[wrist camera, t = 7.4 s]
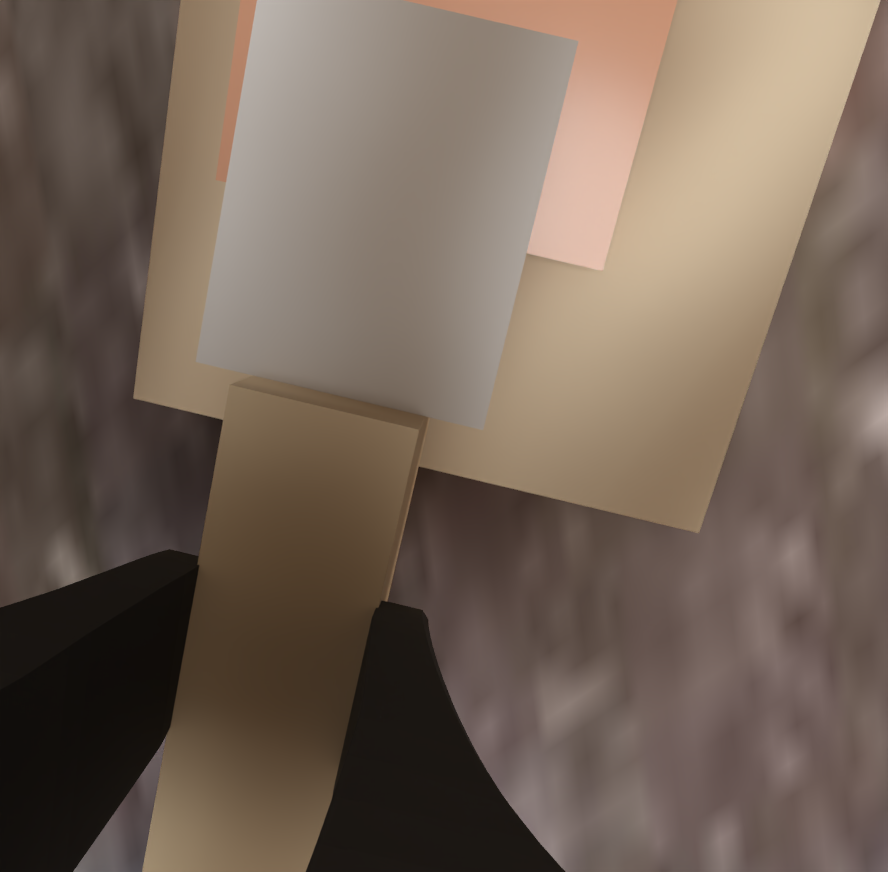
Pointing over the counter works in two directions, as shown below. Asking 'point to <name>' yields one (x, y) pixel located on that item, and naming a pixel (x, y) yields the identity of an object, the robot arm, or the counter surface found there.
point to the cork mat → (576, 287)
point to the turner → (338, 380)
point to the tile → (582, 117)
